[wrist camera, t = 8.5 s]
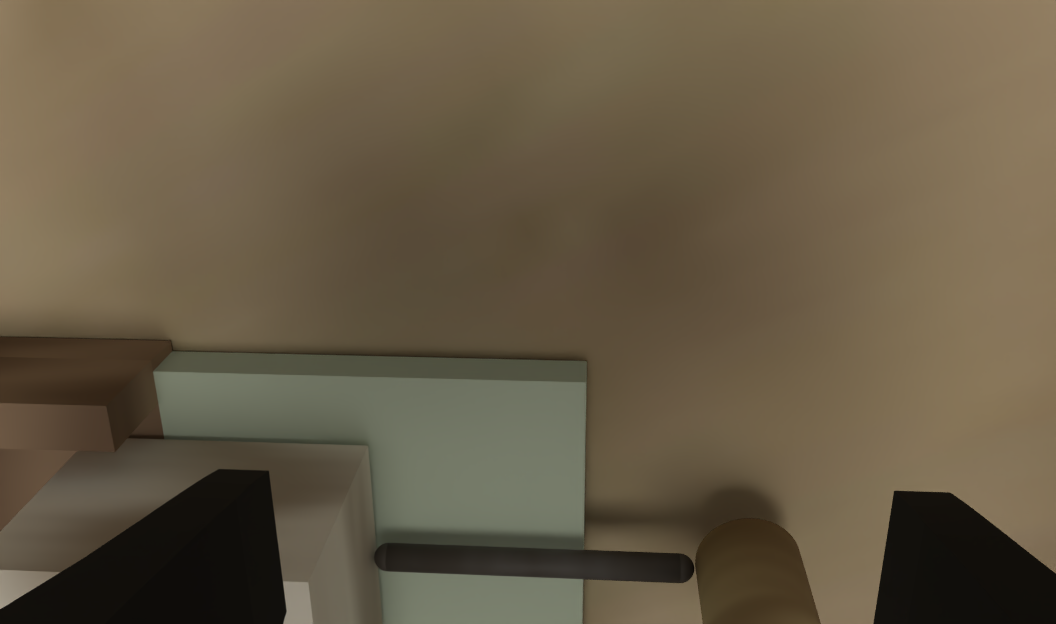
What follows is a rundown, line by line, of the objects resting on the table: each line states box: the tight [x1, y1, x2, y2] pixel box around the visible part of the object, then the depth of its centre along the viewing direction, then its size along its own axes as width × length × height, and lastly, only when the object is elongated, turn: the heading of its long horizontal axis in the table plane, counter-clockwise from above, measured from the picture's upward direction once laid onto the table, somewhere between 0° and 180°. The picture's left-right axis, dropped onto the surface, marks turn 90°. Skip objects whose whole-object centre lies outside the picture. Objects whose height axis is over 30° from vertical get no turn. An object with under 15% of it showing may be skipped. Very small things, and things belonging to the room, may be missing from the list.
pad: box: [153, 351, 587, 624], centre depth 22 cm, size 9×8×1 cm
